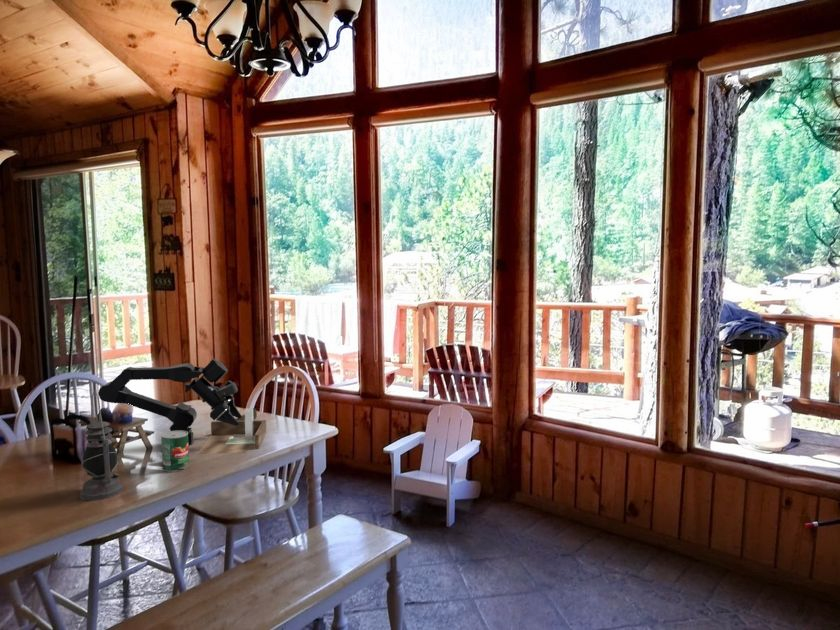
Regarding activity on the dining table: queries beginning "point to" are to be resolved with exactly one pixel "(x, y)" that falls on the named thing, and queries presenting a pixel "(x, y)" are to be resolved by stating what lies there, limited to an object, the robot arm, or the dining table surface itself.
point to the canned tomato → (174, 450)
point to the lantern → (100, 461)
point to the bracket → (246, 428)
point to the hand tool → (244, 416)
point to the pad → (239, 442)
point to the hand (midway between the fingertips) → (239, 421)
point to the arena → (225, 431)
